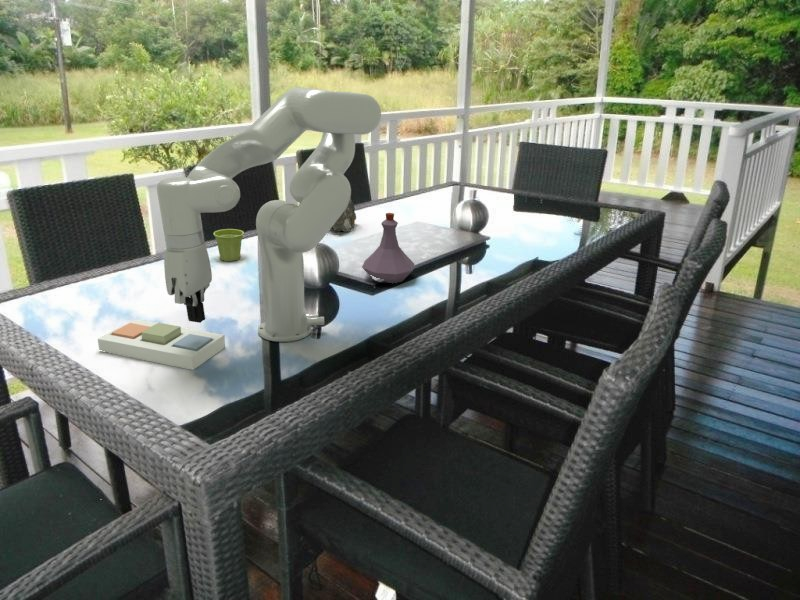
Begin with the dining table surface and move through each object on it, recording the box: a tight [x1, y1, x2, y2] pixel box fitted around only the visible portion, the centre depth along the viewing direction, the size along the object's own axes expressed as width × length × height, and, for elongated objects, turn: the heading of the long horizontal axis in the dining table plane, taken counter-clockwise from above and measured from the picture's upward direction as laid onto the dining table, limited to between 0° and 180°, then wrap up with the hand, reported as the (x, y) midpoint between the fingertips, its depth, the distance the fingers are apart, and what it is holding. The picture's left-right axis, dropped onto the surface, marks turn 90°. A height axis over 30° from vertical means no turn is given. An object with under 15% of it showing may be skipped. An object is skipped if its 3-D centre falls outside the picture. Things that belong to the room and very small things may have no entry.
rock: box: [331, 198, 357, 233], centre depth 239 cm, size 18×14×15 cm
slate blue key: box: [173, 334, 212, 351], centre depth 137 cm, size 6×6×2 cm
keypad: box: [97, 318, 226, 371], centre depth 139 cm, size 24×12×3 cm, turn 72°
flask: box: [361, 212, 415, 285], centre depth 186 cm, size 16×16×20 cm
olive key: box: [141, 322, 182, 345], centre depth 139 cm, size 6×6×2 cm
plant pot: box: [213, 228, 245, 262], centre depth 201 cm, size 9×9×9 cm
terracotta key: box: [112, 322, 150, 339], centre depth 141 cm, size 6×6×2 cm
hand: (196, 320), depth 136 cm, fingers closed
